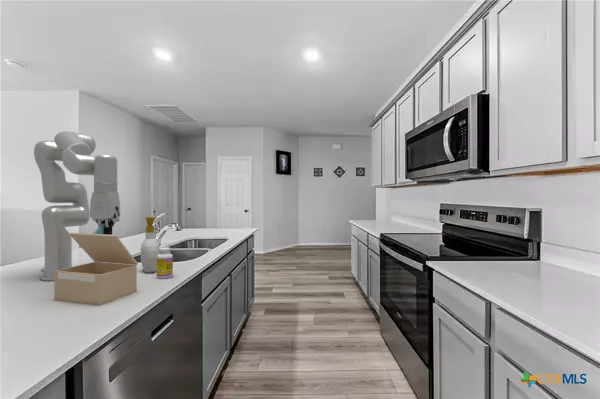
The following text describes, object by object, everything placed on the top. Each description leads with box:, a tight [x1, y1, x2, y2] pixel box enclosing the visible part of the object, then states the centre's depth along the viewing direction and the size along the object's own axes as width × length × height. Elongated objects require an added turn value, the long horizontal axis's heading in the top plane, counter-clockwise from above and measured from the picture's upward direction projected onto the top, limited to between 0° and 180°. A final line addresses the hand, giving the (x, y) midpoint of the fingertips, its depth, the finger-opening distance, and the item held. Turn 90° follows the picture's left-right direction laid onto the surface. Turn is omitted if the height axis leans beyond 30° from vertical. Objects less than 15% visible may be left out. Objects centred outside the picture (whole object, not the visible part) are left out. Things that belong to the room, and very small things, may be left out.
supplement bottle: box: [156, 247, 174, 279], centre depth 143 cm, size 7×7×13 cm
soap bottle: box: [140, 216, 162, 274], centre depth 155 cm, size 14×9×26 cm, turn 34°
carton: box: [53, 261, 138, 306], centre depth 117 cm, size 20×16×10 cm
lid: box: [69, 224, 139, 265], centre depth 122 cm, size 21×16×6 cm
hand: (105, 237), depth 120 cm, fingers closed
